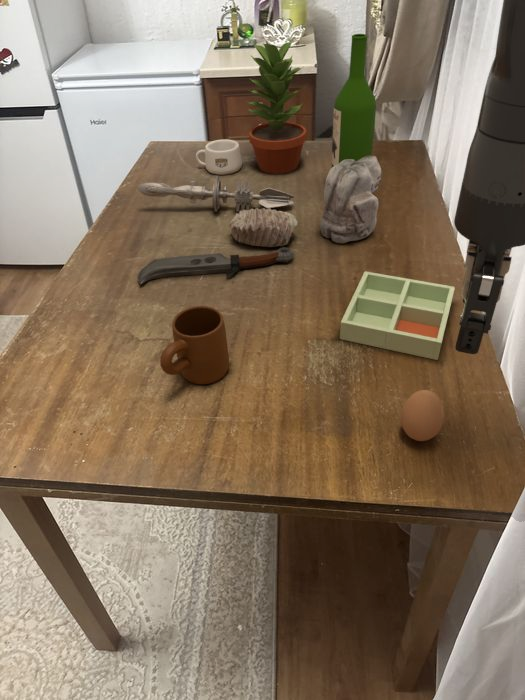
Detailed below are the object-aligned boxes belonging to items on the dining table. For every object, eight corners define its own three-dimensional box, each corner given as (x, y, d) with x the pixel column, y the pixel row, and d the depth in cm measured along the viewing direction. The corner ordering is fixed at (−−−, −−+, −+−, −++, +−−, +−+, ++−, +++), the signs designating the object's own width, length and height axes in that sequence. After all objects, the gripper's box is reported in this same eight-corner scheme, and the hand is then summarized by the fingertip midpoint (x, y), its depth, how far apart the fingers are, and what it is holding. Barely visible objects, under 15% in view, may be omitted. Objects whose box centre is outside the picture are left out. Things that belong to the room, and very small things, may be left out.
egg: (438, 424, 72) (449, 382, 67) (438, 454, 68) (449, 412, 63) (399, 418, 73) (406, 376, 68) (396, 447, 70) (404, 405, 64)
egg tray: (451, 303, 92) (455, 286, 90) (437, 360, 82) (441, 342, 79) (363, 287, 97) (364, 271, 95) (339, 339, 87) (340, 322, 84)
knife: (297, 267, 99) (134, 279, 99) (297, 277, 101) (137, 289, 100) (292, 243, 106) (139, 254, 105) (292, 253, 107) (142, 264, 107)
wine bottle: (325, 186, 130) (330, 33, 109) (360, 181, 131) (372, 28, 110) (337, 202, 123) (345, 42, 102) (374, 196, 124) (389, 37, 103)
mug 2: (243, 160, 144) (242, 137, 140) (241, 175, 137) (239, 151, 133) (199, 161, 145) (196, 139, 141) (194, 176, 138) (191, 153, 134)
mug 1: (191, 412, 76) (181, 363, 70) (150, 393, 79) (138, 344, 73) (239, 362, 83) (234, 314, 77) (200, 347, 87) (193, 299, 80)
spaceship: (141, 169, 123) (133, 169, 115) (294, 180, 123) (296, 181, 115) (141, 205, 125) (133, 207, 118) (291, 216, 125) (292, 219, 118)
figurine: (385, 233, 112) (394, 162, 102) (344, 250, 107) (349, 178, 97) (352, 215, 118) (357, 147, 108) (312, 231, 113) (313, 161, 104)
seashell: (301, 214, 113) (291, 186, 104) (302, 254, 111) (290, 229, 101) (236, 223, 117) (220, 197, 108) (235, 261, 115) (218, 239, 105)
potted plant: (307, 154, 146) (308, 27, 126) (304, 177, 134) (305, 42, 115) (253, 154, 147) (246, 29, 128) (245, 177, 136) (236, 43, 116)
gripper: (557, 224, 41) (504, 377, 52) (552, 155, 51) (508, 295, 62) (455, 212, 43) (424, 361, 54) (469, 148, 53) (441, 284, 64)
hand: (469, 325), depth 58 cm, fingers open, 8 cm apart
